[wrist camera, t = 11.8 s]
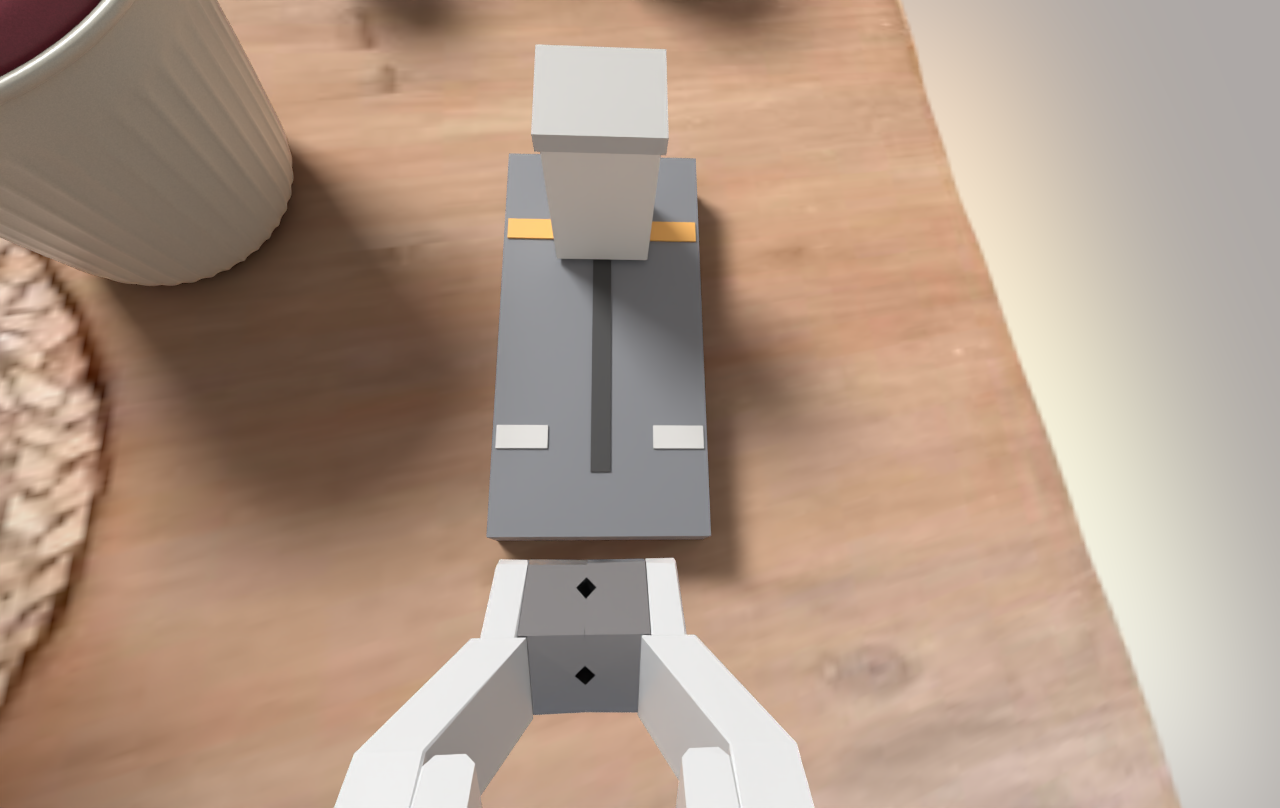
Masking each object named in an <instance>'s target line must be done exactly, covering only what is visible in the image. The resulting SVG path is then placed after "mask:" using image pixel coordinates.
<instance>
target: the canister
mask: <svg viewBox="0 0 1280 808" xmlns="http://www.w3.org/2000/svg"><path fill="white" fill-rule="evenodd" d="M292 183H293V170H292V155H291V152H290V149H289V146H288V141H287V137H286V134H285V131H284V129H283V127H282V125H281V123H280V121H279V119H278V116H277V114H276V112H275V111H274V109H273V107H272V105H271V103H270V101H269V99H268V97H267V95H266V93H265V91H264V89H263V87H262V85H261V83H260V81H259V79H258V77H257V75H256V73H255V71H254V69H253V67H252V65H251V63H250V61H249V59H248V57H247V55H246V53H245V51H244V49H243V48H242V46H241V44H240V42H239V40H238V38H237V36H236V34H235V32H234V31H233V29H232V27H231V25H230V23H229V21H228V19H227V18H226V16H225V14H224V12H223V10H222V8H221V7H220V5H219V3H218V1H217V0H0V238H3V239H5V240H7V241H10V242H12V243H14V244H17V245H19V246H22V247H24V248H27V249H29V250H31V251H34V252H36V253H39V254H41V255H44V256H46V257H49V258H51V259H53V260H56V261H58V262H61V263H63V264H66V265H68V266H71V267H73V268H76V269H78V270H81V271H83V272H86V273H89V274H92V275H95V276H98V277H103V278H107V279H110V280H113V281H117V282H121V283H126V284H139V285H144V286H159V285H166V286H174V285H178V284H181V283H194V282H196V281H198V280H200V279H203V278H210V277H214V276H215V275H216V274H217V273H219V272H222V271H225V270H230V269H231V268H232V267H233V266H234V265H236V264H237V263H239V262H242V261H245V260H246V258H247V257H248V256H249V255H250V254H251V253H253V252H254V251H257V250H259V247H260V246H261V245H262V244H263V242H265V241H266V240H267V239H269V238H270V237H271V233H272V232H273V230H274V229H275V228H276V227H278V226H279V224H280V220H281V217H282V215H283V214H284V213H285V212H286V211H287V202H288V200H289V199H290V197H291V194H292V191H291V185H292Z"/></svg>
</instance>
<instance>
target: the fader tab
mask: <svg viewBox="0 0 1280 808" xmlns="http://www.w3.org/2000/svg"><path fill="white" fill-rule="evenodd" d="M531 135H532V141H533V147H534V151H537V152H540V154H541V161H542V167H543V173H544V180H545V186H546V193H547V199H548V205H549V212H550V218H551V225H552V231H553V237H554V244H555V250H556V256H557V259H609V260H647V258H648V250H649V242H650V234H651V226H652V219H653V211H654V203H655V195H656V187H657V180H658V172H659V164H660V156H661V155H666V152H667V145H668V100H667V63H666V49H641V48H614V47H587V46H560V45H536V47H535V68H534V89H533V111H532V132H531Z"/></svg>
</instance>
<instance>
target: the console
mask: <svg viewBox="0 0 1280 808" xmlns="http://www.w3.org/2000/svg"><path fill="white" fill-rule="evenodd" d="M709 536H711V525H710V500H709V476H708V451H707V426H706V402H705V377H704V353H703V328H702V304H701V279H700V255H699V230H698V206H697V181H696V159H690V158H660V164H659V172H658V180H657V187H656V195H655V203H654V211H653V219H652V226H651V234H650V242H649V250H648V258H647V260H609V259H557V256H556V250H555V244H554V237H553V231H552V225H551V218H550V212H549V205H548V199H547V193H546V186H545V180H544V173H543V167H542V161H541V154H509V164H508V181H507V198H506V215H505V232H504V249H503V266H502V283H501V300H500V317H499V334H498V351H497V368H496V385H495V402H494V419H493V436H492V453H491V470H490V487H489V504H488V521H487V538H490V539H494V540H497V541H529V540H680V539H704V538H707V537H709Z"/></svg>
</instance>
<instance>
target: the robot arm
mask: <svg viewBox="0 0 1280 808" xmlns="http://www.w3.org/2000/svg"><path fill="white" fill-rule="evenodd" d="M579 712H638V716H639V718H640V720H641V721H642V723H643V724H644V726H645V727H646V729H647V731H648V732H649V734H650V735H651V737H652V739H653V740H654V742H655V743H656V745H657V747H658V748H659V750H660V751H661V753H662V755H663V756H664V758H665V759H666V761H667V762H668V764H669V766H670V767H671V769H672V770H673V772H674V774H675V775H676V777H677V778H678V780H679V785H678V793H677V801H676V808H815V807H814V804H813V800H812V797H811V793H810V790H809V786H808V782H807V779H806V775H805V772H804V768H803V765H802V761H801V757H800V754H799V750H798V747H797V743H796V742H795V741H794V740H793V739H792V738H791V737H790V735H789V734H788V733H787V732H786V731H785V730H784V729H783V728H782V727H781V726H780V725H779V724H778V723H777V722H776V720H775V719H774V718H773V717H772V716H771V715H770V714H769V713H768V712H767V711H766V710H765V709H764V708H763V707H762V706H761V704H760V703H759V702H758V701H757V700H756V699H755V698H754V697H753V696H752V695H751V694H750V693H749V692H748V691H747V689H746V688H745V687H744V686H743V685H742V684H741V683H740V682H739V681H738V680H737V679H736V678H735V677H734V676H733V674H732V673H731V672H730V671H729V670H728V669H727V668H726V667H725V666H724V665H723V664H722V663H721V662H720V661H719V659H718V658H717V657H716V656H715V655H714V654H713V653H712V652H711V651H710V650H709V649H708V648H707V647H706V646H705V644H704V643H703V642H702V641H701V640H700V639H699V638H698V637H697V636H696V635H687V634H686V627H685V621H684V614H683V607H682V600H681V593H680V586H679V579H678V572H677V565H676V561H675V560H674V558H645V560H644V559H600V560H548V559H530V560H507V559H500V560H499V562H498V564H497V566H496V569H495V574H494V578H493V583H492V587H491V592H490V596H489V601H488V605H487V610H486V614H485V619H484V623H483V628H482V632H481V637H480V638H472V639H470V640H469V641H468V642H467V643H466V644H465V645H464V646H463V647H462V648H461V649H460V650H459V651H458V652H457V653H456V654H455V655H454V656H453V657H452V658H451V659H450V660H449V661H448V662H447V663H446V664H445V665H444V666H443V667H442V668H441V669H440V670H439V671H438V672H437V673H436V674H435V675H434V676H433V677H432V678H431V679H430V680H428V681H427V682H426V683H425V684H424V685H423V686H422V687H421V688H420V689H419V690H418V691H417V692H416V693H415V694H414V695H413V696H412V697H411V698H410V699H409V700H408V701H407V702H406V703H405V704H404V705H403V706H402V707H401V708H400V709H399V710H398V711H397V712H396V713H395V714H394V715H393V716H392V717H391V718H390V719H389V720H388V721H387V722H386V723H385V724H384V725H383V726H382V727H381V728H380V729H379V730H378V731H377V732H376V733H375V734H374V735H373V736H372V737H371V738H370V739H369V740H368V741H367V742H366V743H365V744H364V745H363V746H362V747H361V748H360V749H359V750H358V751H357V752H356V753H355V754H354V755H353V758H352V761H351V763H350V766H349V769H348V772H347V774H346V777H345V780H344V782H343V785H342V788H341V790H340V793H339V796H338V799H337V801H336V804H335V807H334V808H482V802H481V795H482V793H483V792H484V790H485V789H486V787H487V786H488V784H489V783H490V781H491V780H492V778H493V777H494V775H495V774H496V772H497V771H498V770H499V768H500V767H501V765H502V764H503V762H504V761H505V759H506V758H507V756H508V755H509V753H510V752H511V750H512V749H513V747H514V746H515V744H516V743H517V741H518V740H519V739H520V737H521V736H522V734H523V733H524V731H525V730H526V728H527V727H528V725H529V724H530V722H531V721H532V719H533V715H542V714H561V713H579Z"/></svg>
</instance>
